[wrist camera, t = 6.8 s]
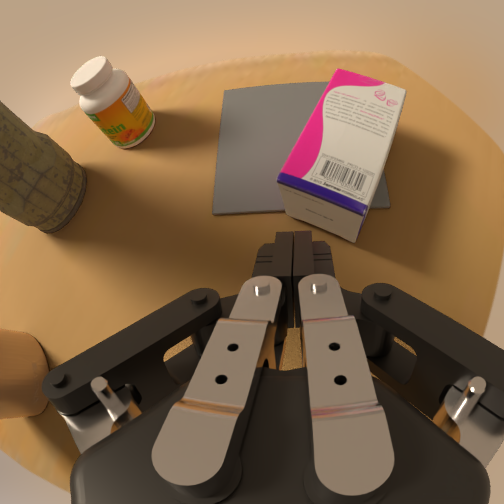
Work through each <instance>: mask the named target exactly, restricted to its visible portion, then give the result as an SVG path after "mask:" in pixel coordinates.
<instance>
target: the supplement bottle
mask: <svg viewBox="0 0 504 504" xmlns="http://www.w3.org/2000/svg"><path fill="white" fill-rule="evenodd" d="M70 84H71V87H72V88H73V89H74V90H75V91H76V93H78V94H79V95H80V101H79V103H80V107H81V109H82V110H83V111H84V112H85V113H86V115H87V116H88V117H89V118H90V119H91V120H92V121H93V122H94V123H95V124H96V125H97V126H98V127H99V129H100V130H101V131H102V132H103V133H104V134H105V135H106V136H107V137H108V138H109V139H110V141H111V142H112V143H113V144H114V145H116V146H117V147H119V148H130V147H133V146H135V145H137V144H139V143H140V142H142V141H143V140H144V139H145V138H146V137H147V136H148V135H149V134H150V132H151V131H152V129H153V127H154V124H155V116H154V114H153V112H152V110H151V109H150V107H149V106H148V104H147V103H146V102H145V100H144V99H143V97H142V96H141V94H140V93H139V91H138V90H137V88H136V87H135V85H134V84H133V83H132V81H131V79H130V78H129V77H128V75H127V74H126V73H125V72H124V71H123V70H120V69H113V68H112V65H111V63H110V62H109V61H108V60H107V58H106V57H103V56H99V57H95V58H93V59H91V60H90V61H88V62H86V63H85V64H84V65H83V66H81V67H80V68H79V69H78V70H77V72H76V73H75V74H74V76H73V77H72V79H71V83H70Z"/></svg>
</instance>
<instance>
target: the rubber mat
mask: <svg viewBox="0 0 504 504" xmlns="http://www.w3.org/2000/svg"><path fill="white" fill-rule="evenodd" d="M328 84H329V82H306V83H289V84H276V85H265V86H256V87H247V88H239V89H232V90H225V91H224V97H223V105H222V114H221V123H220V133H219V143H218V153H217V163H216V174H215V186H214V198H213V211H212V214H213V215H222V214H238V213H255V212H275V211H285V207H284V204H283V200H282V196H281V193H280V190H279V187H278V184H277V181H276V180H277V177H278V174H279V173H280V171H281V169H282V167H283V165H284V164H285V162H286V160H287V158H288V156H289V154H290V153H291V151H292V149H293V147H294V145H295V144H296V142H297V140H298V138H299V136H300V134H301V133H302V131H303V129H304V127H305V125H306V124H307V122H308V120H309V118H310V116H311V114H312V113H313V111H314V109H315V107H316V105H317V104H318V102H319V100H320V98H321V96H322V94H323V93H324V91H325V89H326V87H327V86H328ZM369 208H390V201H389V195H388V189H387V183H386V178H385V173H384V169H383V172H382V175H381V178H380V180H379V183H378V186H377V189H376V191H375V194H374V197H373V199H372V202H371V205H370V207H369Z"/></svg>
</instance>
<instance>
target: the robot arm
mask: <svg viewBox="0 0 504 504" xmlns="http://www.w3.org/2000/svg"><path fill="white" fill-rule="evenodd" d="M294 314H295V324H296V328H300V345H301V359H302V368H298V369H293V370H288V371H282V370H281V369H282V363H283V358H284V353H285V348H286V336H287V330H288V328H294ZM189 336H191V339H192V342H193V344H192V345H190V346H189V347H187V348H186V349H184V350H183V351H181V352H180V353H178V354H176V355H175V356H173V357H172V358H170V359H169V360H167V361H165V362H164V361H163V357H164V354H165V353H166V351H167V350H168V349H170V348H171V347H173V346H174V345H176V344H178V343H179V342H181V341H182V340H184V339H186V338H187V337H189ZM395 336H396V337H397V338H399V339H400V340H402V341H403V342H405V343H406V344H408V345H409V346H411V347H412V348H413V349H414V351H415V352H416V355H417V356H415V355H414V354H413V353H411V352H410V351H408V350H407V349H405V348H404V347H402V346H401V345H399V344H398V343H396V342H395V341H394V337H395ZM370 372H371V373H372V374H374V375H375V376H376V377H378V378H379V379H380V380H379V379H377V378H375V377H373V376H371V373H370ZM404 398H405V399H404ZM48 401H50V402H51V403H52V405H53V406H54V407H55V408H56V410H57V412H58V413H59V414H60V415H61V416H62V418H63V419H64V420H65V421H66V423H67V425H68V428H69V430H70V432H71V434H72V437H73V439H74V441H75V443H76V445H77V447H78V449H79V451H80V453H81V455H80V456H79V458H78V459H77V461H76V462H75V464H74V466H73V469H72V472H71V476H70V491H71V504H488V503H489V498H490V481H489V477H488V473H487V471H486V469H485V468H486V467H487V465H488V463H489V462H490V461H491V459H492V458H493V456H494V455H495V453H496V452H497V450H498V449H499V447H500V445H501V444H502V442H503V440H504V350H503V349H501V348H499V347H498V346H496V345H494V344H493V343H491V342H490V341H488V340H486V339H485V338H483V337H481V336H480V335H478V334H476V333H475V332H473V331H471V330H470V329H468V328H466V327H465V326H463V325H461V324H459V323H458V322H456V321H454V320H453V319H451V318H449V317H447V316H446V315H444V314H442V313H441V312H439V311H437V310H435V309H434V308H432V307H430V306H428V305H427V304H425V303H423V302H421V301H420V300H418V299H416V298H414V297H412V296H411V295H409V294H407V293H405V292H404V291H402V290H400V289H398V288H396V287H394V286H392V285H389V284H385V283H375V284H371V285H369V286H367V287H365V288H364V289H363V291H362V294H360V293H354V292H350V291H347V290H345V289H343V288H341V287H340V286H339V283H338V281H337V280H336V279H335V273H334V267H333V261H332V255H331V250H330V246H329V245H328V244H327V243H325V242H324V241H316V242H312V233H311V231H295V236H294V232H293V231H291V232H277V233H276V239H275V243H270V244H264V245H263V246H262V247H261V248H260V249H259V250H258V254H257V258H256V263H255V266H254V270H253V274H252V278H251V279H249V280H247V281H246V282H245V283H244V284H243V285H242V288H241V290H240V292H239V294H236V295H233V296H229V297H225V298H220V297H219V294H218V292H217V291H215V290H213V289H210V288H200V289H195V290H192V291H190V292H188V293H186V294H185V295H183V296H181V297H179V298H178V299H176V300H174V301H172V302H170V303H169V304H167V305H165V306H163V307H162V308H160V309H158V310H156V311H155V312H153V313H151V314H149V315H148V316H146V317H144V318H142V319H141V320H139V321H137V322H135V323H134V324H132V325H130V326H128V327H127V328H125V329H123V330H121V331H119V332H118V333H116V334H114V335H112V336H111V337H109V338H107V339H105V340H104V341H102V342H100V343H98V344H97V345H95V346H93V347H91V348H89V349H88V350H86V351H84V352H82V353H81V354H79V355H77V356H75V357H74V358H72V359H70V360H68V361H67V362H65V363H63V364H61V365H59V366H58V367H56V368H54V369H53V370H51V371H50V372H49V369H48V364H47V361H46V357H45V355H44V353H43V350H42V348H41V346H40V345H39V343H38V342H37V341H36V340H35V338H34V337H33V336H31V335H29V334H28V333H24V332H18V331H11V330H5V329H0V419H6V418H18V417H27V416H34V415H39V414H40V413H42V412H43V410H44V409H45V408H46V406H47V403H48ZM409 402H410V403H411V404H410V403H409ZM413 405H414V406H415V407H416V408H417V409H416V408H415V407H414V406H413ZM418 409H419V410H420V411H421V412H423V413H424V414H425V415H427V416H428V417H429V418H431V419H432V420H433V422H432V421H431V420H430V419H429V418H427V417H426V416H425V415H424V414H422V413H421V412H420V411H419V410H418Z"/></svg>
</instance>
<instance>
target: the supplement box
mask: <svg viewBox="0 0 504 504" xmlns="http://www.w3.org/2000/svg"><path fill="white" fill-rule="evenodd" d="M405 97H406V90H405V89H402V88H399V87H396V86H394V85H391V84H388V83H385V82H382V81H379V80H376V79H373V78H370V77H367V76H363V75H360V74H356V73H353V72H349V71H346V70H342V69H336V71H335V73H334V74H333V76H332V78H331V80H330V82H329V84H328V86H327V87H326V89H325V91H324V93H323V94H322V96H321V98H320V100H319V102H318V104H317V105H316V107H315V109H314V111H313V113H312V114H311V116H310V118H309V120H308V122H307V124H306V125H305V127H304V129H303V131H302V133H301V134H300V136H299V138H298V140H297V142H296V144H295V145H294V147H293V149H292V151H291V153H290V154H289V156H288V158H287V160H286V162H285V164H284V165H283V167H282V169H281V171H280V173H279V174H278V177H277V180H276V181H277V184H278V187H279V190H280V193H281V196H282V200H283V204H284V207H285V211H286V214H287V215H288V216H291V217H293V218H296V219H300V220H303V221H305V222H307V223H310V224H312V225H315V226H317V227H320V228H322V229H324V230H327V231H329V232H331V233H334V234H336V235H339V236H341V237H342V238H344V239H346V240H348V241H350V242H353V243H355V242H356V240H357V237H358V235H359V232H360V230H361V227H362V225H363V223H364V220H365V218H366V215H367V212H368V210H369V207H370V205H371V202H372V199H373V197H374V194H375V191H376V189H377V186H378V183H379V180H380V178H381V175H382V172H383V169H384V166H385V163H386V160H387V157H388V154H389V151H390V148H391V145H392V142H393V139H394V135H395V132H396V129H397V126H398V122H399V119H400V115H401V112H402V108H403V104H404V101H405Z"/></svg>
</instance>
